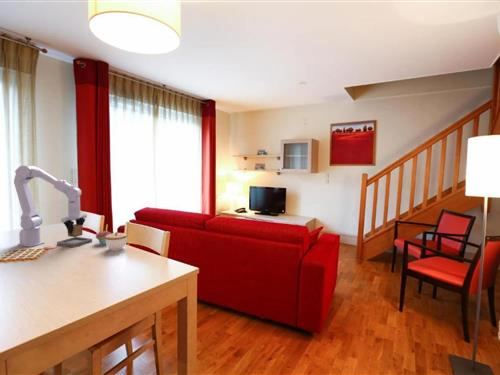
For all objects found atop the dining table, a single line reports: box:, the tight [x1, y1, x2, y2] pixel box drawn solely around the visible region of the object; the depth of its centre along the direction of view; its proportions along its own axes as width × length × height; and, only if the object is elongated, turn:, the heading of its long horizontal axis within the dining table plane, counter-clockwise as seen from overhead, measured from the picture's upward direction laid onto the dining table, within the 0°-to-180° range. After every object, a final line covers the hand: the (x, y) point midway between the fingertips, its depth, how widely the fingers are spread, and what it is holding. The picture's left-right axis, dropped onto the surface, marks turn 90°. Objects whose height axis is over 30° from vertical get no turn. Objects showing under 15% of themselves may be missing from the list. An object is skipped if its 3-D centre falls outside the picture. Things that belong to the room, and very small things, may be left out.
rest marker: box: [43, 245, 58, 250], centre depth 145 cm, size 6×6×1 cm
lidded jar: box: [105, 231, 128, 252], centre depth 147 cm, size 11×11×9 cm
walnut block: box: [67, 223, 83, 238], centre depth 154 cm, size 5×5×6 cm
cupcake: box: [95, 223, 112, 245], centre depth 156 cm, size 9×8×12 cm
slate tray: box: [56, 236, 93, 248], centre depth 155 cm, size 12×12×2 cm
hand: (74, 232), depth 154 cm, fingers closed on walnut block, 5 cm apart
